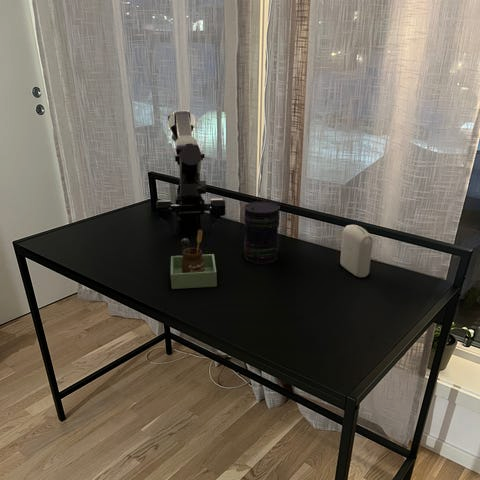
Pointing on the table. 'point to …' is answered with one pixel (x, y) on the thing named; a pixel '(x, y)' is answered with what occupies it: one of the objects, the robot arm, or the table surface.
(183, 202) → the robot arm
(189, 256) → the utensil holder
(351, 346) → the table surface
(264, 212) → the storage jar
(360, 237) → the photo printer
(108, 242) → the table surface
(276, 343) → the table surface
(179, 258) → the tray
